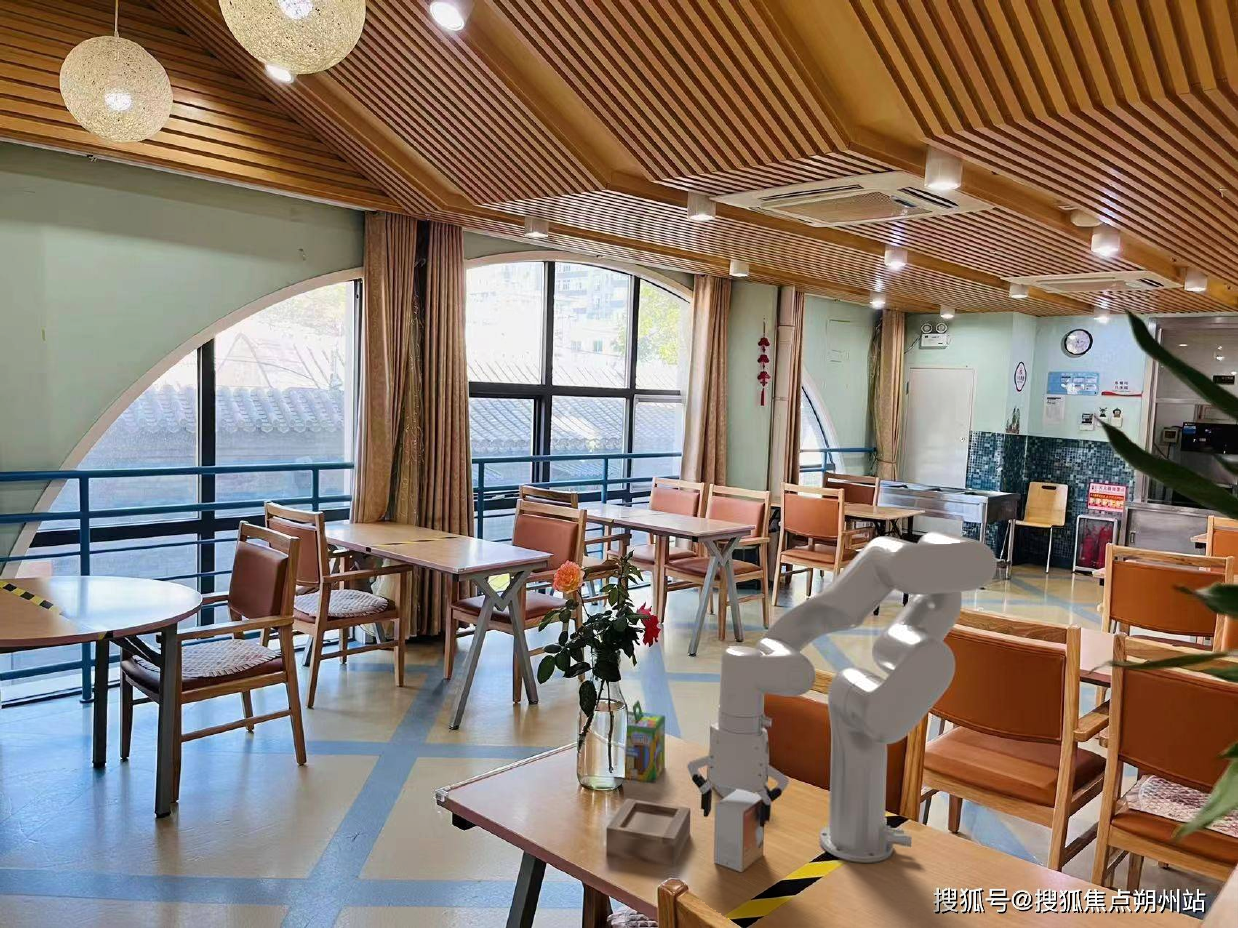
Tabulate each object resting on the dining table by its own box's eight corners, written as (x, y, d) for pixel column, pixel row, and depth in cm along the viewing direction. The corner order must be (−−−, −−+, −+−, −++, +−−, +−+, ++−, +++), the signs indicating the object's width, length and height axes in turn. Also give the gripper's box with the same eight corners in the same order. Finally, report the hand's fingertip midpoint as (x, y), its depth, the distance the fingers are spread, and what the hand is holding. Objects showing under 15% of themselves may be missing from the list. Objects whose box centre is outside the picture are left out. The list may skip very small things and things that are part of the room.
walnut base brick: (689, 835, 163) (690, 808, 162) (673, 868, 151) (674, 838, 151) (626, 825, 166) (627, 798, 166) (606, 856, 155) (606, 827, 154)
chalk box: (654, 784, 183) (655, 713, 182) (612, 777, 186) (612, 708, 185) (666, 766, 192) (667, 699, 191) (625, 761, 195) (626, 694, 194)
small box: (741, 873, 149) (743, 812, 148) (712, 863, 152) (713, 803, 152) (764, 854, 155) (766, 795, 155) (736, 844, 159) (737, 787, 158)
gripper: (794, 721, 153) (788, 818, 154) (695, 706, 158) (690, 801, 159) (789, 736, 146) (783, 837, 147) (685, 720, 151) (680, 819, 152)
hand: (734, 818), depth 153 cm, fingers open, 9 cm apart
